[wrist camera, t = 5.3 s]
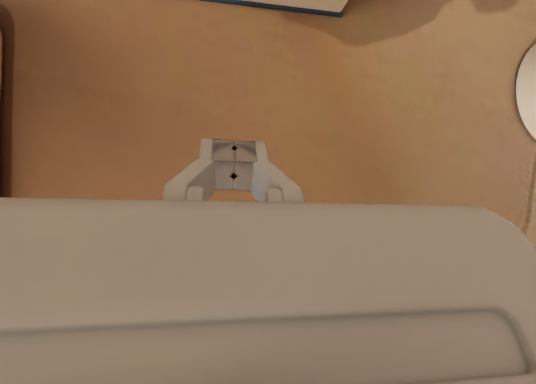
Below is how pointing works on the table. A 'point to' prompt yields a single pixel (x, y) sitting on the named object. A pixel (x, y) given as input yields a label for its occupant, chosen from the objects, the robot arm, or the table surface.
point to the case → (0, 60)
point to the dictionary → (295, 5)
